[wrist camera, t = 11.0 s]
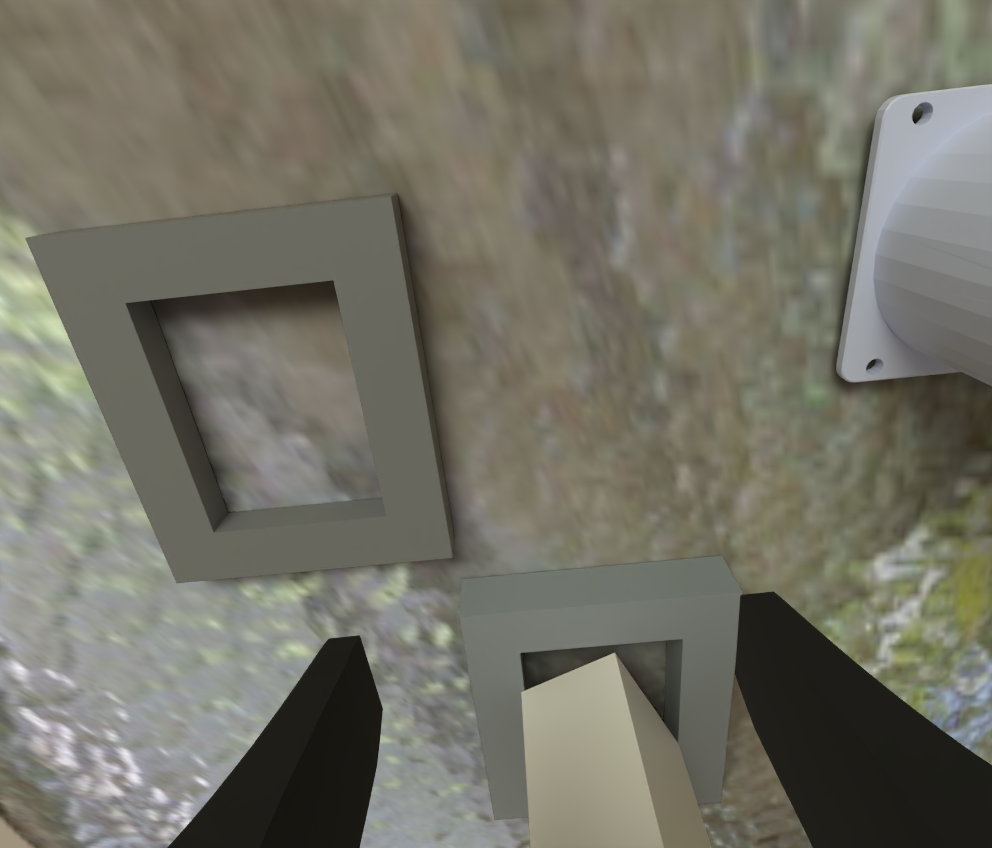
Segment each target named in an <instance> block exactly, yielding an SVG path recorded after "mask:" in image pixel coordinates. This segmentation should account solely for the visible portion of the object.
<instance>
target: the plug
mask: <svg viewBox="0 0 992 848" xmlns="http://www.w3.org/2000/svg"><path fill="white" fill-rule="evenodd" d="M521 697H522V714H523V731H524V747H525V764H526V780H527V797H528V813H529V830H530V846H531V848H712V847H711V844H710V841H709V838H708V835H707V832H706V829H705V825H704V822H703V819H702V816H701V813H700V810H699V807H698V803H697V800H696V797H695V794H694V791H693V788H692V785H691V781H690V778H689V775H688V772H687V769H686V766H685V763H684V759H683V756H682V753H681V750H680V747H679V744H678V742H677V741H676V739H675V738H674V737H673V735H672V734H671V732H670V731H669V729H668V728H667V727H666V725H665V724H664V722H663V721H662V719H661V718H660V716H659V715H658V714H657V712H656V711H655V709H654V708H653V706H652V705H651V704H650V702H649V701H648V699H647V698H646V696H645V695H644V694H643V692H642V691H641V689H640V688H639V686H638V685H637V683H636V682H635V681H634V679H633V678H632V676H631V675H630V673H629V672H628V671H627V669H626V668H625V666H624V665H623V663H622V662H621V660H620V659H619V658H618V656H617V655H616V653H612V654H610V655H608V656H605V657H603V658H601V659H598V660H596V661H594V662H591V663H589V664H586V665H584V666H582V667H579V668H577V669H575V670H572V671H570V672H568V673H565V674H563V675H561V676H558V677H556V678H553V679H551V680H549V681H546V682H544V683H542V684H539V685H537V686H535V687H532V688H530V689H528V690H525V691H523V692H521Z"/></svg>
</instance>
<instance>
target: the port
mask: <svg viewBox="0 0 992 848" xmlns="http://www.w3.org/2000/svg"><path fill="white" fill-rule="evenodd" d="M740 595H742V590H741V588H740V587H739V585H738V583H737V581H736V580H735V578H734V576H733V574H732V573H731V571H730V569H729V567H728V566H727V564H726V562H725V560H724V559H723V557H722V556H711V557H700V558H689V559H678V560H667V561H656V562H645V563H634V564H623V565H612V566H601V567H590V568H579V569H568V570H557V571H546V572H535V573H524V574H513V575H502V576H491V577H480V578H469V579H461V595H460V611H459V619H460V625H461V631H462V636H463V642H464V648H465V653H466V659H467V665H468V671H469V676H470V682H471V688H472V693H473V699H474V705H475V711H476V716H477V722H478V728H479V734H480V739H481V745H482V751H483V756H484V762H485V768H486V774H487V779H488V785H489V791H490V796H491V802H492V808H493V814H494V819H495V820H500V819H513V818H526V817H529V813H528V797H527V780H526V764H525V747H524V731H523V714H522V697H521V692H523V691H525V690H526V682H525V674H524V665H523V657H522V653H525V652H537V651H549V650H560V649H572V648H583V647H595V646H607V645H618V644H630V643H642V642H653V641H665V640H667V644H666V677H665V709H664V724H665V725H666V727H667V728H668V729H669V731H670V732H671V734H672V735H673V737H674V738H675V739H676V741H677V742H678V744H679V747H680V750H681V753H682V756H683V759H684V763H685V766H686V769H687V772H688V775H689V778H690V781H691V785H692V788H693V791H694V794H695V797H696V800H697V803H698V804H709V803H721V797H722V787H723V778H724V768H725V758H726V748H727V738H728V729H729V719H730V709H731V699H732V690H733V680H734V670H735V660H736V651H737V636H738V621H739V606H740Z"/></svg>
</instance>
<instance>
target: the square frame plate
mask: <svg viewBox="0 0 992 848" xmlns="http://www.w3.org/2000/svg"><path fill="white" fill-rule="evenodd" d="M25 239H26V241H27V243H28V245H29V248H30V250H31V252H32V255H33V257H34V259H35V261H36V264H37V266H38V268H39V270H40V273H41V275H42V277H43V280H44V282H45V284H46V286H47V289H48V291H49V293H50V296H51V298H52V300H53V302H54V305H55V307H56V309H57V311H58V314H59V316H60V318H61V321H62V323H63V325H64V327H65V330H66V332H67V334H68V337H69V339H70V341H71V343H72V346H73V348H74V350H75V352H76V355H77V357H78V359H79V362H80V364H81V366H82V368H83V371H84V373H85V375H86V378H87V380H88V382H89V384H90V387H91V389H92V391H93V393H94V396H95V398H96V400H97V403H98V405H99V407H100V409H101V412H102V414H103V416H104V419H105V421H106V423H107V425H108V428H109V430H110V432H111V434H112V437H113V439H114V441H115V444H116V446H117V448H118V450H119V453H120V455H121V457H122V460H123V462H124V464H125V466H126V469H127V471H128V473H129V476H130V478H131V480H132V482H133V485H134V487H135V489H136V491H137V494H138V496H139V498H140V501H141V503H142V505H143V507H144V510H145V512H146V514H147V517H148V519H149V521H150V523H151V526H152V528H153V530H154V532H155V535H156V537H157V539H158V542H159V544H160V546H161V548H162V551H163V553H164V555H165V558H166V560H167V562H168V564H169V567H170V569H171V571H172V573H173V576H174V578H175V580H176V583H185V582H196V581H207V580H218V579H229V578H239V577H250V576H261V575H272V574H283V573H294V572H305V571H316V570H326V569H337V568H348V567H359V566H370V565H381V564H392V563H402V562H413V561H424V560H435V559H446V558H453V549H454V531H453V525H452V519H451V513H450V507H449V501H448V495H447V489H446V483H445V477H444V471H443V465H442V459H441V453H440V447H439V441H438V435H437V429H436V423H435V417H434V411H433V405H432V399H431V393H430V387H429V381H428V375H427V369H426V363H425V357H424V351H423V345H422V339H421V333H420V327H419V321H418V315H417V309H416V303H415V297H414V291H413V285H412V279H411V273H410V267H409V261H408V255H407V249H406V243H405V237H404V231H403V225H402V219H401V213H400V207H399V201H398V195H397V193H393V194H384V195H375V196H367V197H358V198H349V199H340V200H332V201H323V202H314V203H305V204H297V205H288V206H279V207H270V208H262V209H253V210H244V211H235V212H226V213H218V214H209V215H200V216H191V217H183V218H174V219H165V220H156V221H148V222H139V223H130V224H121V225H113V226H104V227H95V228H86V229H77V230H69V231H60V232H53V233H48V234H43V235H38V236H33V237H28V238H25ZM332 280H333V281H334V285H335V290H336V294H337V299H338V303H339V308H340V312H341V317H342V321H343V326H344V330H345V334H346V339H347V343H348V348H349V352H350V357H351V361H352V366H353V370H354V375H355V379H356V383H357V388H358V392H359V397H360V401H361V406H362V410H363V415H364V419H365V424H366V428H367V432H368V437H369V441H370V446H371V450H372V455H373V459H374V464H375V468H376V473H377V477H378V481H379V486H380V490H381V495H382V498H377V499H367V500H356V501H346V502H335V503H325V504H315V505H304V506H294V507H283V508H273V509H262V510H252V511H242V512H231V513H228V512H227V509H226V506H225V504H224V501H223V498H222V495H221V493H220V490H219V487H218V484H217V482H216V479H215V476H214V474H213V471H212V468H211V465H210V463H209V460H208V457H207V454H206V452H205V449H204V446H203V443H202V441H201V438H200V435H199V432H198V430H197V427H196V424H195V422H194V419H193V416H192V413H191V411H190V408H189V405H188V402H187V400H186V397H185V394H184V391H183V389H182V386H181V383H180V381H179V378H178V375H177V372H176V370H175V367H174V364H173V361H172V359H171V356H170V353H169V350H168V348H167V345H166V342H165V339H164V337H163V334H162V331H161V329H160V326H159V323H158V320H157V318H156V315H155V312H154V309H153V307H152V304H151V301H150V300H158V299H167V298H176V297H186V296H195V295H204V294H213V293H222V292H231V291H240V290H250V289H259V288H268V287H277V286H286V285H295V284H305V283H314V282H323V281H332Z"/></svg>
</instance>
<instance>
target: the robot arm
mask: <svg viewBox="0 0 992 848" xmlns="http://www.w3.org/2000/svg"><path fill="white" fill-rule="evenodd" d="M919 104H920V105H921V106H922V108H923V114H922V116H921V119H920V120H919V121H918V122H917V123H916V124H915V123H914V122H913V121H912V114H913V111H914V109H915V108H916V107H917V106H918V105H919ZM873 359H876V362H875V365H874V366H873V367H872V368H871V369H868V370H866V367H867V364H868V363H869V362H870V361H871V360H873ZM836 371H837V373H838V375H839V376H840V377H841V378H843V379H845V380H846V381H848V382H854V383H856V382H866V381H876V380H886V379H896V378H906V377H916V376H926V375H936V374H946V373H956V372H963V373H965V374H967V375H969V376H971V377H973V378H975V379H977V380H979V381H982V382H984V383H986V384H988V385H990V386H992V84H989V85H980V86H972V87H963V88H955V89H946V90H938V91H929V92H920V93H912V94H903V95H897V96H894V97H891V98H889V99H888V100H887V101H885V102H884V103H883V104H882V106H881V107H880V109H879V110H878V112H877V115H876V118H875V124H874V131H873V137H872V143H871V150H870V156H869V162H868V168H867V175H866V181H865V187H864V194H863V200H862V206H861V213H860V219H859V225H858V232H857V238H856V244H855V251H854V257H853V263H852V270H851V276H850V282H849V289H848V295H847V301H846V308H845V314H844V320H843V326H842V333H841V339H840V345H839V352H838V358H837V364H836ZM735 675H736V678H737V681H738V684H739V687H740V689H741V692H742V695H743V698H744V701H745V704H746V706H747V709H748V712H749V714H750V717H751V720H752V722H753V725H754V728H755V730H756V732H757V734H758V736H759V738H760V741H761V743H762V745H763V747H764V749H765V751H766V753H767V755H768V757H769V759H770V761H771V763H772V765H773V767H774V769H775V771H776V773H777V775H778V777H779V779H780V781H781V783H782V785H783V788H784V790H785V792H786V794H787V796H788V798H789V800H790V802H791V804H792V806H793V808H794V810H795V812H796V814H797V816H798V818H799V820H800V822H801V824H802V826H803V828H804V830H805V832H806V834H807V836H808V838H809V840H810V842H811V844H812V846H813V848H992V765H991V764H989V763H988V762H986V761H985V760H983V759H982V758H980V757H979V756H977V755H976V754H974V753H973V752H971V751H970V750H969V749H967V748H966V747H964V746H963V745H961V744H960V743H959V742H957V741H956V740H955V739H953V738H952V737H950V736H949V735H948V734H946V733H945V732H944V731H942V730H941V729H940V728H938V727H937V726H936V725H934V724H933V723H932V722H930V721H929V720H928V719H926V718H925V717H924V716H922V715H921V714H920V713H918V712H917V711H916V710H914V709H913V708H912V707H910V706H909V705H908V704H907V703H905V702H904V701H903V700H901V699H900V698H899V697H898V696H896V695H895V694H894V693H893V692H891V691H890V690H889V689H888V688H886V687H885V686H884V685H883V684H881V683H880V682H879V681H878V680H877V679H875V678H874V677H873V676H872V675H870V674H869V673H868V672H867V671H866V670H864V669H863V668H862V667H861V666H859V665H858V664H857V663H856V662H855V661H853V660H852V659H851V658H850V657H849V656H847V655H846V654H845V653H844V652H843V651H842V650H840V649H839V648H838V647H837V646H836V645H835V644H833V643H832V642H831V641H830V640H829V639H828V638H826V637H825V636H824V635H823V634H822V633H821V632H819V631H818V630H817V629H816V628H815V627H814V626H813V625H811V624H810V623H809V622H808V621H807V620H806V619H805V618H804V617H802V616H801V615H800V614H799V613H798V612H797V611H796V610H794V609H793V608H792V607H791V606H790V605H789V604H788V603H787V602H785V601H784V600H783V599H782V598H781V597H780V596H778V595H777V594H776V593H775V592H766V593H756V594H747V595H740V606H739V621H738V636H737V651H736V665H735ZM382 711H383V708H382V705H381V702H380V698H379V695H378V692H377V689H376V686H375V683H374V679H373V676H372V673H371V670H370V667H369V663H368V660H367V657H366V654H365V651H364V647H363V644H362V641H361V638H360V635H359V636H350V637H340V638H331V639H328V640H327V641H326V643H325V644H324V645H323V647H322V648H321V650H320V651H319V652H318V654H317V655H316V657H315V658H314V660H313V661H312V663H311V664H310V665H309V667H308V668H307V670H306V671H305V673H304V674H303V676H302V677H301V679H300V680H299V681H298V683H297V684H296V686H295V687H294V689H293V690H292V691H291V693H290V694H289V696H288V697H287V699H286V700H285V701H284V703H283V704H282V706H281V707H280V708H279V710H278V711H277V713H276V714H275V715H274V717H273V718H272V719H271V721H270V722H269V723H268V725H267V726H266V728H265V729H264V730H263V732H262V733H261V734H260V736H259V737H258V738H257V740H256V741H255V743H254V744H253V745H252V747H251V748H250V749H249V750H248V752H247V753H246V754H245V756H244V757H243V758H242V759H241V761H240V762H239V763H238V764H237V766H236V767H235V768H234V769H233V771H232V772H231V773H230V774H229V776H228V777H227V778H226V780H225V781H224V782H223V783H222V785H221V786H220V787H219V788H218V790H217V791H216V792H215V793H214V795H213V796H212V797H211V798H210V799H209V801H208V802H207V803H206V804H205V805H204V807H203V808H202V809H201V810H200V811H199V812H198V814H197V815H196V816H195V817H194V818H193V819H192V821H191V822H190V823H189V824H188V825H187V826H186V828H185V829H184V830H183V831H182V832H181V833H180V834H179V835H178V837H177V838H176V839H175V840H174V841H173V842H172V843H171V844H170V845H169V847H168V848H360V843H361V838H362V834H363V829H364V825H365V820H366V815H367V811H368V806H369V801H370V797H371V792H372V787H373V782H374V777H375V772H376V768H377V760H378V752H379V743H380V733H381V722H382Z"/></svg>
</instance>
